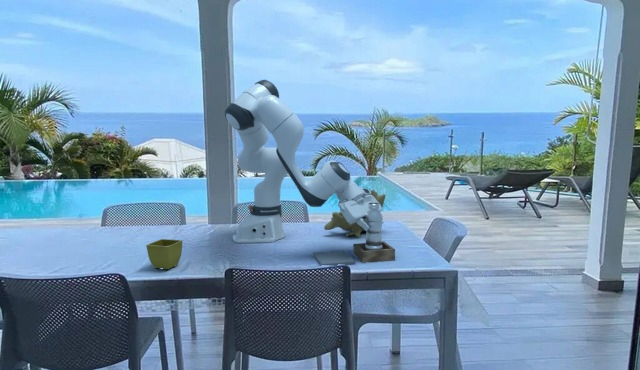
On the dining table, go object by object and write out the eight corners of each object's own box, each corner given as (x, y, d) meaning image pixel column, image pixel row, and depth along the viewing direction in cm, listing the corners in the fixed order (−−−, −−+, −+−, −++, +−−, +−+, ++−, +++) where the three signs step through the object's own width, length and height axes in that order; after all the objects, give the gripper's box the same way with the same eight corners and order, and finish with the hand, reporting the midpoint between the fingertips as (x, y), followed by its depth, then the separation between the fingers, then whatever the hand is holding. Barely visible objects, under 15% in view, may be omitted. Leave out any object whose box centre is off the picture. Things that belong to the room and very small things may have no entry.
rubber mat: (321, 267, 151) (321, 264, 151) (313, 255, 164) (312, 252, 164) (355, 264, 153) (355, 261, 153) (344, 252, 167) (343, 250, 167)
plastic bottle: (378, 260, 157) (378, 205, 154) (361, 258, 160) (361, 203, 157) (385, 256, 162) (386, 202, 159) (369, 253, 166) (369, 201, 163)
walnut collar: (362, 262, 154) (362, 251, 154) (353, 254, 165) (353, 243, 165) (395, 260, 157) (395, 249, 157) (383, 251, 168) (383, 241, 167)
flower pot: (163, 262, 158) (161, 238, 157) (184, 264, 156) (183, 239, 154) (147, 270, 150) (145, 244, 149) (169, 272, 147) (167, 246, 146)
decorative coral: (399, 203, 202) (375, 174, 185) (397, 247, 190) (371, 219, 174) (350, 212, 215) (324, 185, 198) (345, 253, 203) (316, 228, 187)
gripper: (341, 196, 154) (365, 227, 149) (371, 188, 170) (393, 216, 165) (330, 207, 157) (354, 238, 153) (361, 199, 173) (383, 226, 169)
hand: (375, 226), depth 159 cm, fingers open, 8 cm apart
